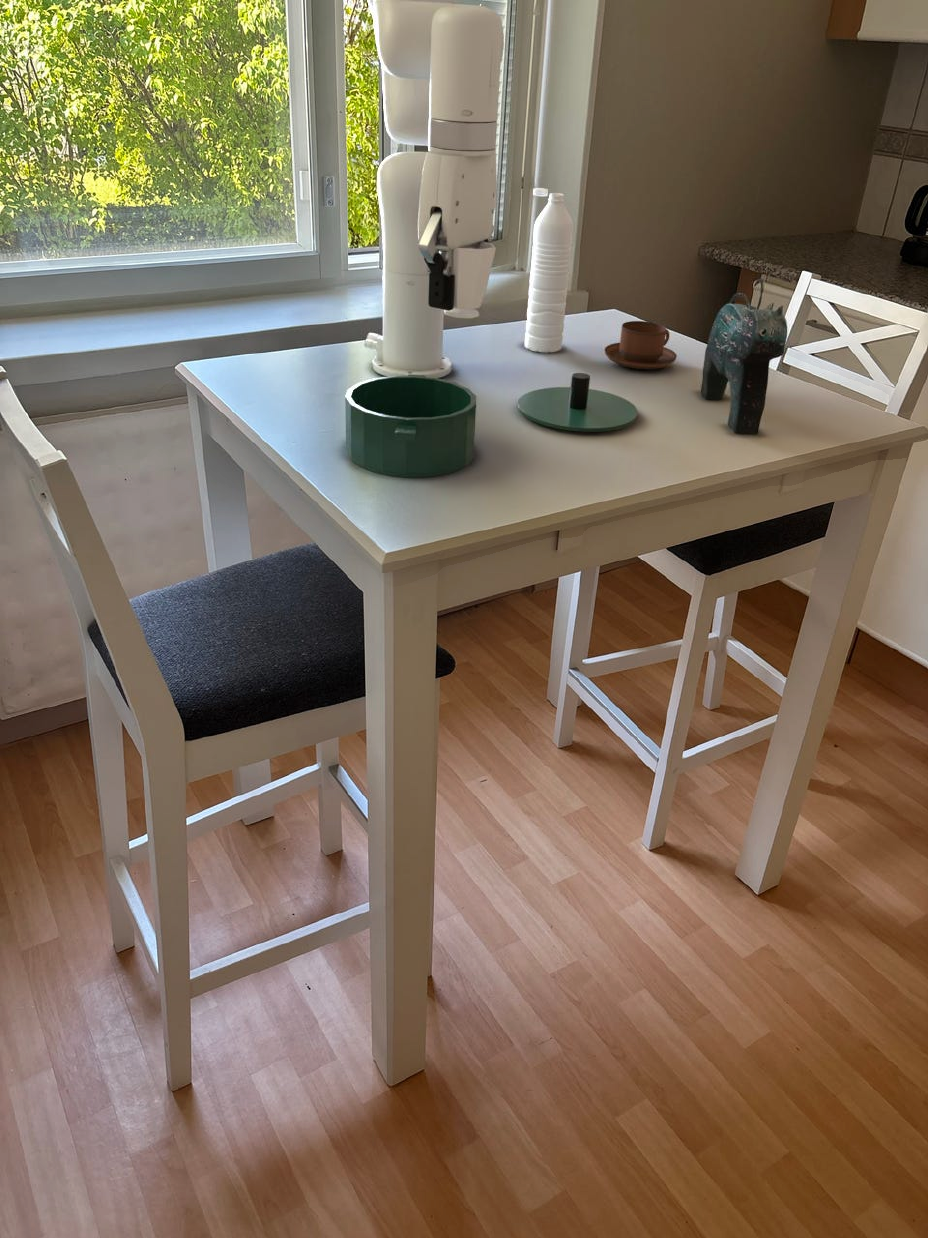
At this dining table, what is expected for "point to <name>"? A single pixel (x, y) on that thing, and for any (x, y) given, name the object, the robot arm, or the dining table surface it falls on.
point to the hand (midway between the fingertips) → (455, 301)
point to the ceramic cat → (743, 359)
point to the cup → (470, 278)
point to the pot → (410, 425)
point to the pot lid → (577, 407)
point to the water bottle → (549, 275)
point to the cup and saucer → (642, 346)
